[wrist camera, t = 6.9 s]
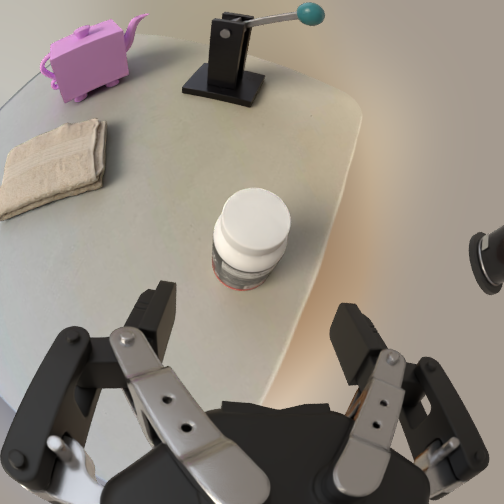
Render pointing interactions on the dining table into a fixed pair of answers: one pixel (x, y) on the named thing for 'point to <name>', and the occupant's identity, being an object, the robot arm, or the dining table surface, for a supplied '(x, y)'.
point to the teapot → (90, 58)
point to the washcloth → (53, 167)
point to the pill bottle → (249, 238)
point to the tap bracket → (227, 64)
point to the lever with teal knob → (291, 16)
